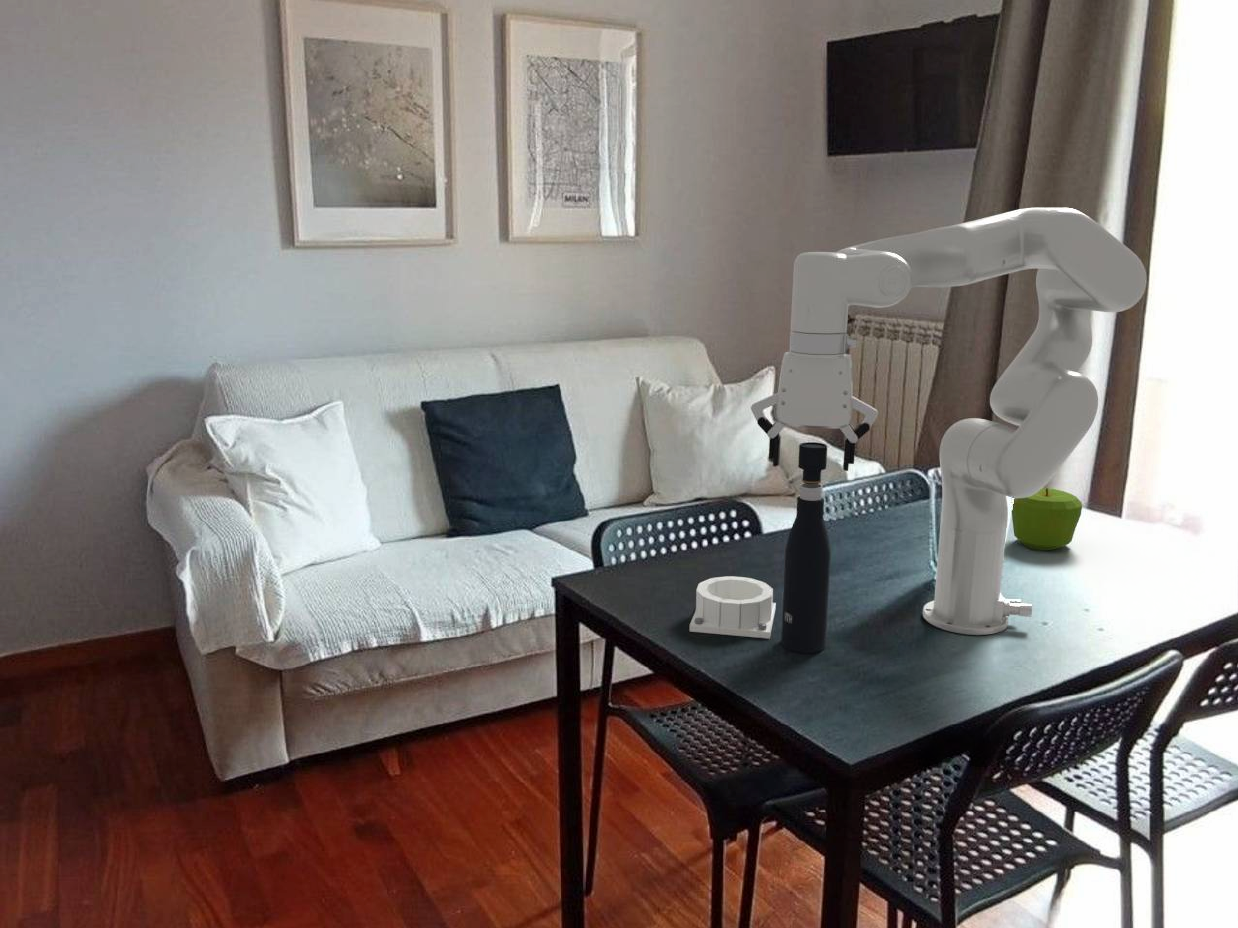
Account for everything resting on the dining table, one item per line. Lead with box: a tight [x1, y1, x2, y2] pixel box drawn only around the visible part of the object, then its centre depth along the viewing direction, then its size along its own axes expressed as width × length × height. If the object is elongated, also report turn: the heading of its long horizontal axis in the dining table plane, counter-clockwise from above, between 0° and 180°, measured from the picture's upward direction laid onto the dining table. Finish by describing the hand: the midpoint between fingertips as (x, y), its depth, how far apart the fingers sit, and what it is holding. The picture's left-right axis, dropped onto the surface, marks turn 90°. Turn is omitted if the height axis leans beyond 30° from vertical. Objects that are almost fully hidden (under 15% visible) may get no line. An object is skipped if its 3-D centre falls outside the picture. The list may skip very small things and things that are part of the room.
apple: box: [1011, 487, 1083, 551], centre depth 195 cm, size 12×12×11 cm
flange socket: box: [689, 575, 777, 640], centre depth 159 cm, size 12×12×5 cm
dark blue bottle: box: [780, 441, 832, 654], centre depth 147 cm, size 6×6×30 cm
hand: (810, 466), depth 144 cm, fingers open, 9 cm apart
